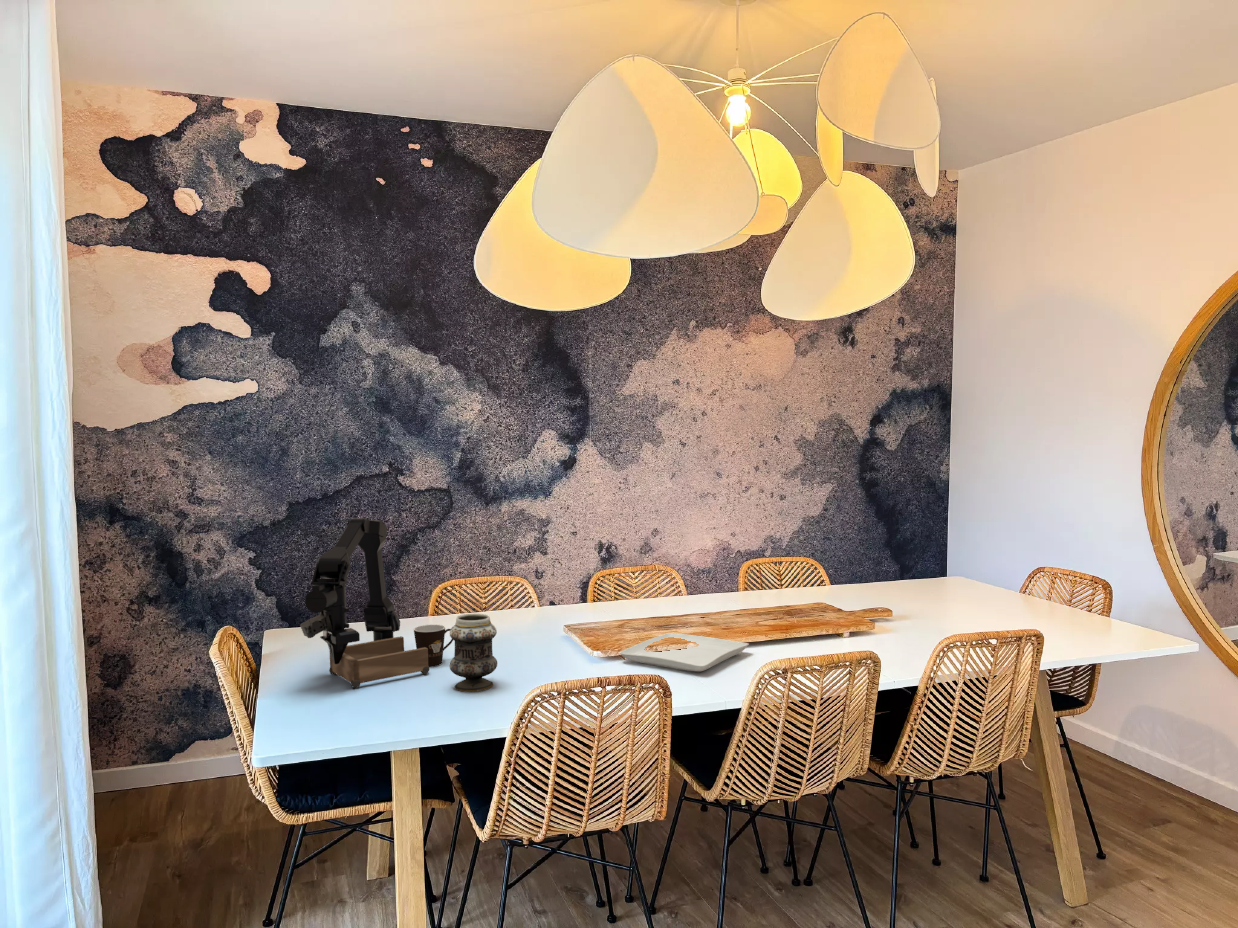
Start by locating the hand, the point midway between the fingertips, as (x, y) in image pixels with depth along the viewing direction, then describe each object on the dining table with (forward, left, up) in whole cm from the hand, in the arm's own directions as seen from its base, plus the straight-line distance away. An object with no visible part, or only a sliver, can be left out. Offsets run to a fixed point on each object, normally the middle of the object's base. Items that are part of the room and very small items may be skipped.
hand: (336, 663), depth 240 cm
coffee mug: (0, +28, -5) cm, 28 cm away
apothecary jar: (+26, +26, -5) cm, 37 cm away
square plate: (+41, +84, -6) cm, 94 cm away
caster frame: (0, +12, -5) cm, 13 cm away
